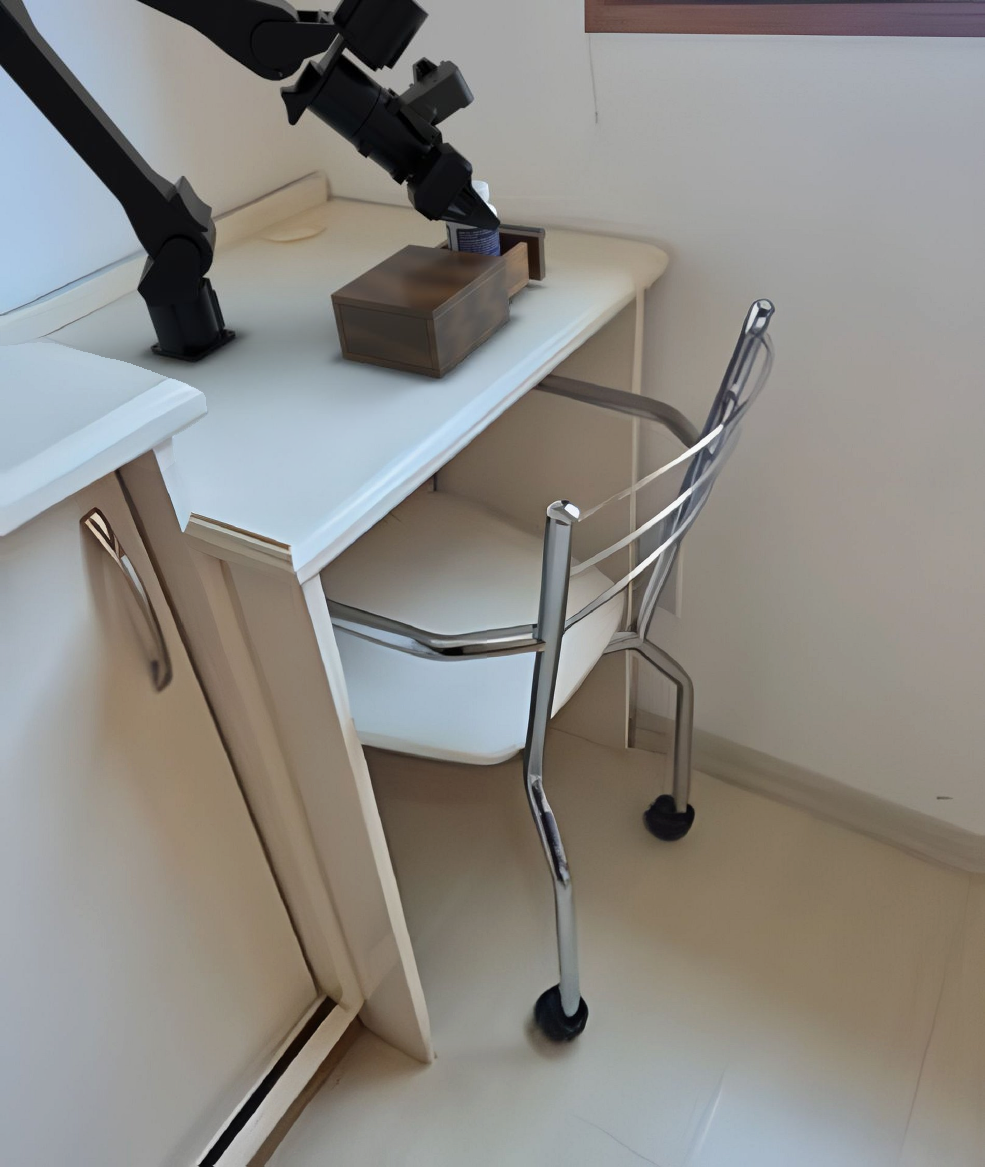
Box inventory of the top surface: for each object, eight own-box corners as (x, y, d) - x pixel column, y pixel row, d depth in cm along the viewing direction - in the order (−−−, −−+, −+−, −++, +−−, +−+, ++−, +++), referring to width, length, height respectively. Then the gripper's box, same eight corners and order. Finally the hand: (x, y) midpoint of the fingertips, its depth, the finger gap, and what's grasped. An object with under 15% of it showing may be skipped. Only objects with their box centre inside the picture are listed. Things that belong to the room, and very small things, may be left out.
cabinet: (417, 304, 101) (409, 244, 97) (510, 320, 96) (505, 257, 92) (342, 358, 93) (330, 294, 88) (440, 378, 88) (432, 312, 83)
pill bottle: (512, 277, 100) (506, 183, 94) (477, 294, 97) (468, 198, 91) (477, 267, 103) (468, 174, 97) (442, 283, 100) (431, 189, 94)
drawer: (484, 251, 109) (481, 210, 106) (564, 262, 105) (562, 219, 102) (404, 309, 98) (398, 264, 95) (489, 323, 94) (485, 277, 91)
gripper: (435, 52, 77) (565, 170, 86) (394, 19, 91) (510, 123, 100) (358, 167, 81) (490, 268, 90) (330, 118, 95) (447, 210, 104)
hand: (485, 212), depth 96 cm, fingers open, 9 cm apart
